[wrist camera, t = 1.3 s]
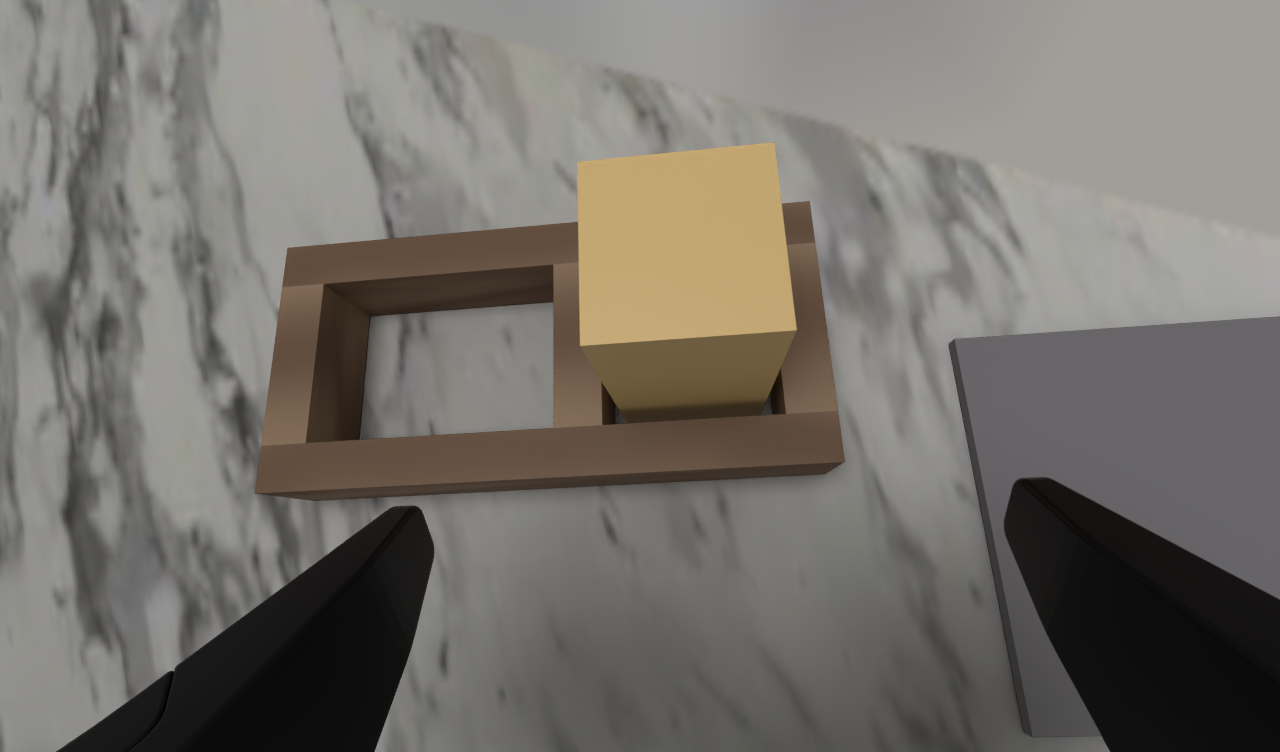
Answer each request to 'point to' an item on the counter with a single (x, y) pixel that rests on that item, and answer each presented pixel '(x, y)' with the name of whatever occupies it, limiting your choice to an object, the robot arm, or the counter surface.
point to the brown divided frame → (583, 409)
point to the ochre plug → (684, 281)
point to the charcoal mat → (1125, 458)
